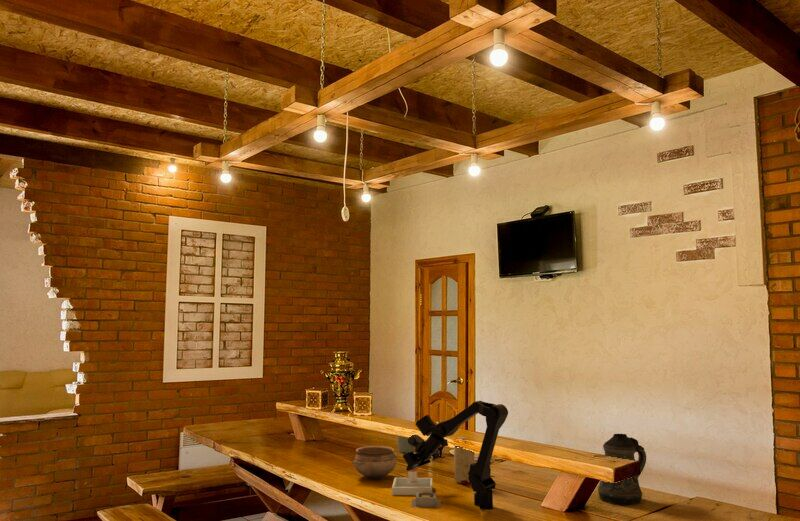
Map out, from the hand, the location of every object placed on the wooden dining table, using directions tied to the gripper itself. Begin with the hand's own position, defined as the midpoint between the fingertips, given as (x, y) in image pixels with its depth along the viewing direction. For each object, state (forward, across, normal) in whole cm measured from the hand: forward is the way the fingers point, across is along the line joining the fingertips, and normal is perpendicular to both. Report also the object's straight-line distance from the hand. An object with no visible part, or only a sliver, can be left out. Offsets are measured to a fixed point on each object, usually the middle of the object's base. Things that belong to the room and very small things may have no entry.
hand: (409, 469), depth 258 cm
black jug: (-45, -42, +58) cm, 85 cm away
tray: (+6, 0, +7) cm, 9 cm away
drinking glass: (+41, -62, -28) cm, 80 cm away
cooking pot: (+25, -9, -12) cm, 29 cm away
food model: (-1, -25, +14) cm, 29 cm away
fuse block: (-6, +12, +18) cm, 23 cm away
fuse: (+3, 0, +5) cm, 6 cm away
